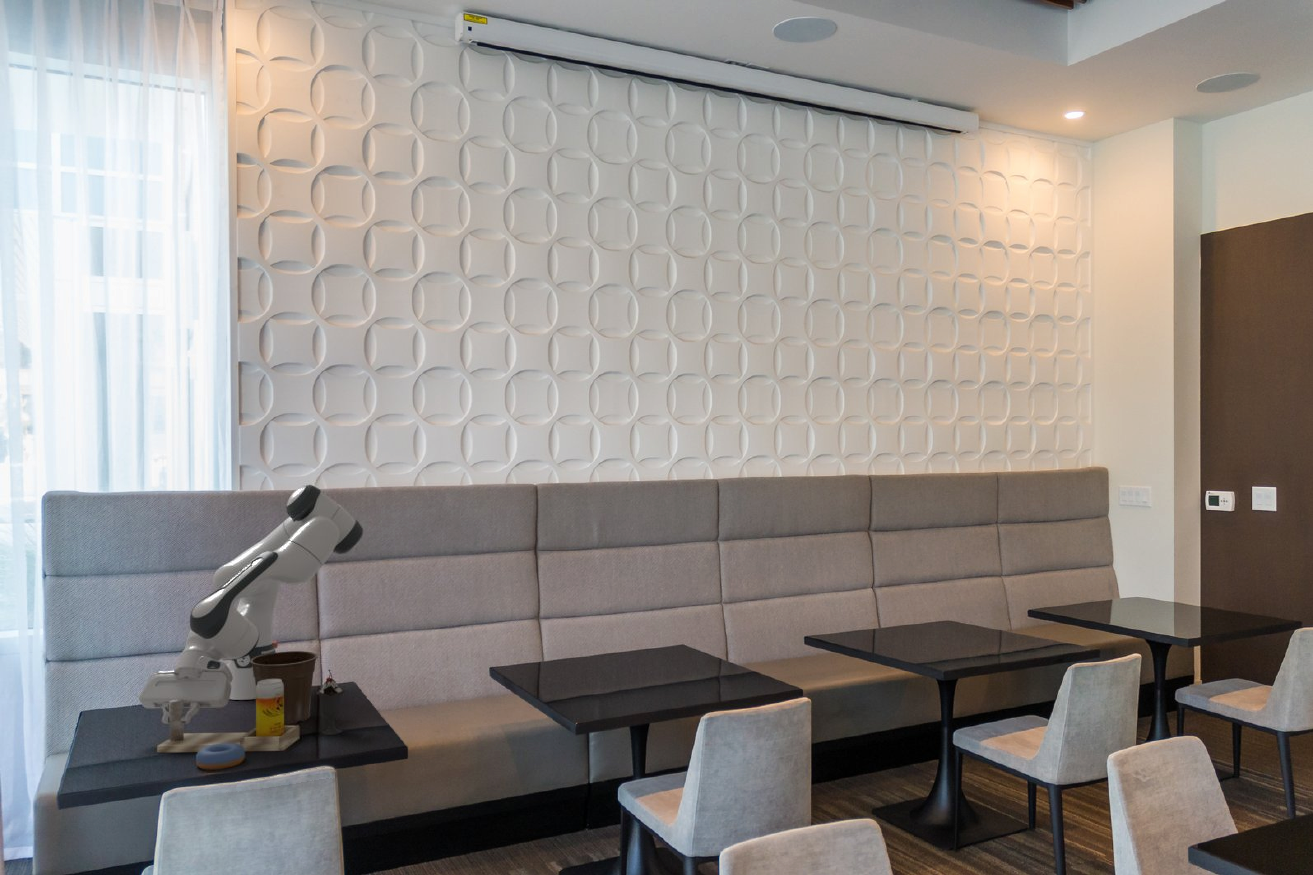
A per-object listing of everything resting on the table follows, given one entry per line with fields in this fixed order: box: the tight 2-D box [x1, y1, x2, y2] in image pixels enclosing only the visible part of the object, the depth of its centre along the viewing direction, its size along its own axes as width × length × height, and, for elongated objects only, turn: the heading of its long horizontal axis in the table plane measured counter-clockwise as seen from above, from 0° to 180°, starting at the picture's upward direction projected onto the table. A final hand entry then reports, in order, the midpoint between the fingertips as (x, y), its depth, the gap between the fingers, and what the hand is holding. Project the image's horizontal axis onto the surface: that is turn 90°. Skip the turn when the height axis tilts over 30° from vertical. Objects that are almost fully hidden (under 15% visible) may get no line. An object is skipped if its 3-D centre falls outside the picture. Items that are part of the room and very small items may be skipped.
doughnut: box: [195, 743, 246, 771], centre depth 217 cm, size 10×10×5 cm
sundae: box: [316, 669, 346, 736], centre depth 241 cm, size 7×7×15 cm
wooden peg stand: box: [156, 699, 300, 753], centre depth 231 cm, size 29×10×10 cm, turn 90°
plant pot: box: [250, 650, 318, 726], centre depth 253 cm, size 16×16×16 cm
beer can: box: [255, 679, 285, 737], centre depth 231 cm, size 6×6×15 cm
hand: (175, 722), depth 231 cm, fingers closed on wooden peg stand, 3 cm apart
